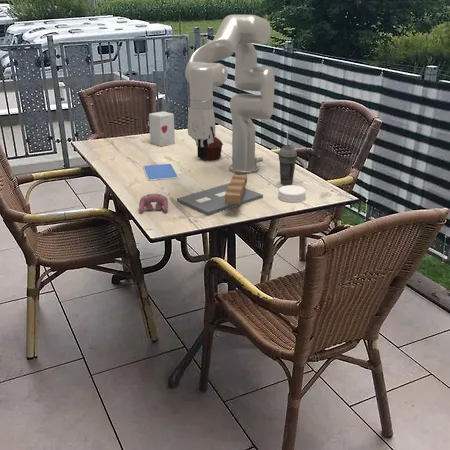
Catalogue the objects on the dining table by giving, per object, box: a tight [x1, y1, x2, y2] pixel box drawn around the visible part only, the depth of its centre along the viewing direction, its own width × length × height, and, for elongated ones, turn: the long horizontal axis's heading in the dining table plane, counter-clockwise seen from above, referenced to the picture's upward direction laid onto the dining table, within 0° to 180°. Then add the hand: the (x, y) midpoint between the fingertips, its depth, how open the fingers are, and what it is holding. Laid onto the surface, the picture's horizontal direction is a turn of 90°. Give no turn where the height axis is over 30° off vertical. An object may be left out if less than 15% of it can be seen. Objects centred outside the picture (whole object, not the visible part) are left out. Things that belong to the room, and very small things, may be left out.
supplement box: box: [148, 110, 176, 147], centre depth 273 cm, size 9×9×15 cm
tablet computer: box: [142, 163, 179, 182], centre depth 232 cm, size 19×13×1 cm, turn 14°
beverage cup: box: [278, 132, 298, 186], centre depth 215 cm, size 7×7×20 cm
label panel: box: [176, 182, 264, 216], centre depth 202 cm, size 26×18×4 cm
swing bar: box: [225, 171, 248, 204], centre depth 198 cm, size 26×5×3 cm, turn 172°
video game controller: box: [138, 193, 169, 214], centre depth 192 cm, size 10×5×7 cm, turn 93°
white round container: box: [277, 184, 307, 203], centre depth 204 cm, size 10×10×4 cm
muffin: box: [199, 136, 224, 162], centre depth 249 cm, size 12×11×10 cm
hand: (202, 157), depth 192 cm, fingers closed
